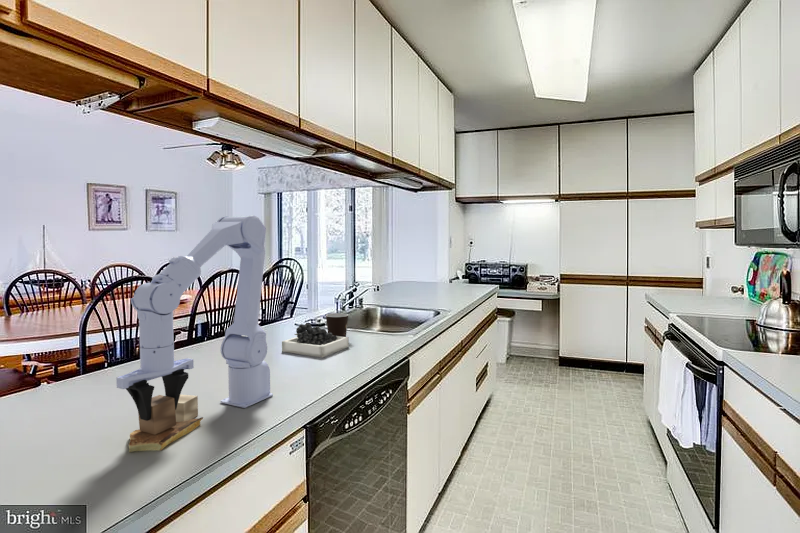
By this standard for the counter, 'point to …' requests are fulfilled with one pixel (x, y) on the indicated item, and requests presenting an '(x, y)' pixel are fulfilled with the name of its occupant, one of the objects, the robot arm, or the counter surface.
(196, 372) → the counter surface
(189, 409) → the maple block
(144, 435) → the shard
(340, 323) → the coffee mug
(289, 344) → the fruit dish
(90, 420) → the counter surface
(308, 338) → the fruit
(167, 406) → the walnut block
